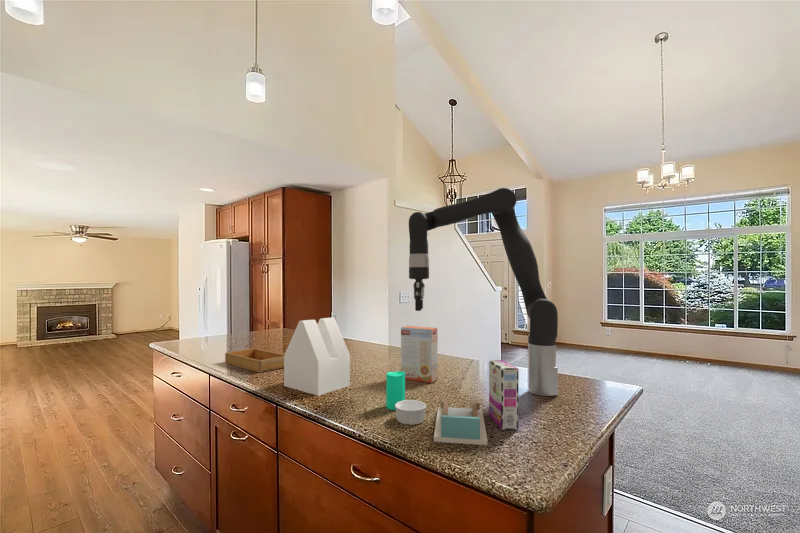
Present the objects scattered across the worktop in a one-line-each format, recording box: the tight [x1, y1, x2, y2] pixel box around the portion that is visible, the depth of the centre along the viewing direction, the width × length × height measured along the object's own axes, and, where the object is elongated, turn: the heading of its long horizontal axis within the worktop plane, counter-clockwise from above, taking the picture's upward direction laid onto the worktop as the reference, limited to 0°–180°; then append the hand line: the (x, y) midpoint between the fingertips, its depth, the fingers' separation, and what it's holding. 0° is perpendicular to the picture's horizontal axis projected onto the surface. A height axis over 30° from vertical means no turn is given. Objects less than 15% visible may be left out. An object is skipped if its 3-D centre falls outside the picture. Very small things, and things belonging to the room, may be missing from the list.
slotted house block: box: [283, 317, 351, 396], centre depth 142 cm, size 19×15×25 cm
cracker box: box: [400, 325, 439, 384], centre depth 151 cm, size 14×6×21 cm, turn 59°
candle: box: [385, 370, 406, 411], centre depth 119 cm, size 6×6×12 cm
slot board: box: [433, 399, 488, 446], centre depth 103 cm, size 13×22×6 cm, turn 171°
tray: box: [224, 347, 285, 373], centre depth 175 cm, size 31×15×6 cm, turn 50°
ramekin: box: [395, 399, 427, 426], centre depth 108 cm, size 9×9×4 cm
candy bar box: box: [488, 359, 520, 431], centre depth 106 cm, size 11×5×16 cm, turn 5°
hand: (419, 309), depth 140 cm, fingers open, 8 cm apart
